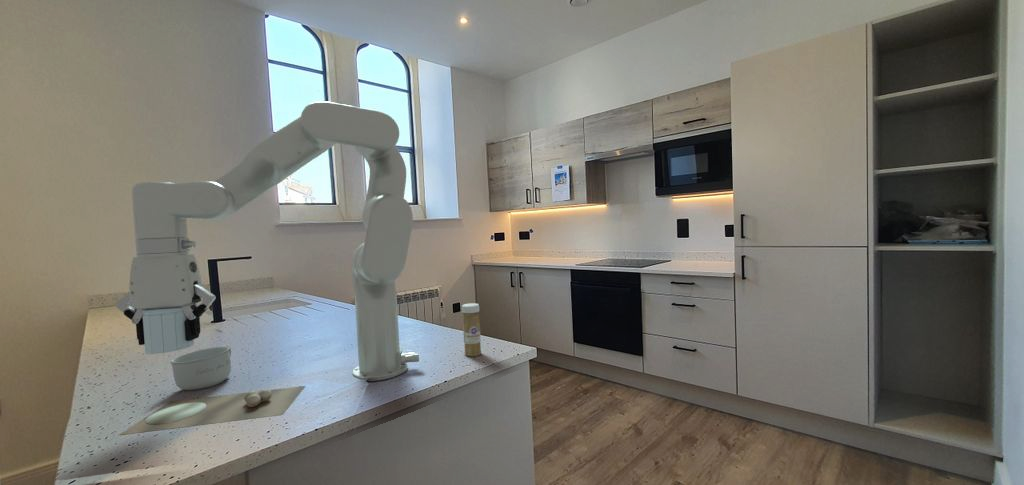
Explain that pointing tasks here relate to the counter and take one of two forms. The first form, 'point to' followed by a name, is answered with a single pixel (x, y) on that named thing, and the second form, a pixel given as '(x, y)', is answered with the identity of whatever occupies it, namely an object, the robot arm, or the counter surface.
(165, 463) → the counter surface
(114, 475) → the counter surface
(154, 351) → the blue cup
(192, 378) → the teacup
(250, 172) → the robot arm
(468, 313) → the sprinkles bottle
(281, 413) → the brown board
